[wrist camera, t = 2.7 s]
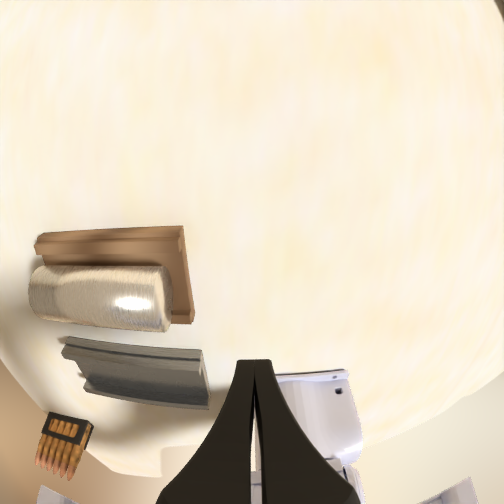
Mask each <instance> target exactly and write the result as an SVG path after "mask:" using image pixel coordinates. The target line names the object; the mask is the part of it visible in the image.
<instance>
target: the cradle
mask: <svg viewBox="0 0 504 504" xmlns="http://www.w3.org/2000/svg"><path fill="white" fill-rule="evenodd" d="M65 344H66V345H65V347H64V348H63V350H62V352H61V354H62V356H63V357H64V358H65V359H69V360H74V361H75V362H76V363H77V365H78V367H79V368H80V370H81V371H82V373H83V375H84V376H85V378H86V379H87V380H86V382H85V385H84V387H83V388H84V390H85V391H86V392H89V393H93V394H97V395H102V396H106V397H111V398H116V399H121V400H127V401H132V402H138V403H145V404H152V405H160V406H168V407H178V408H189V409H203V410H209V402H210V395H211V392H210V388H209V383H208V379H207V374H206V369H205V364H204V359H203V354H202V350H190V349H172V348H157V347H145V346H135V345H125V344H117V343H109V342H101V341H94V340H88V339H81V338H75V337H68V339H67V341H66V342H65Z"/></svg>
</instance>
